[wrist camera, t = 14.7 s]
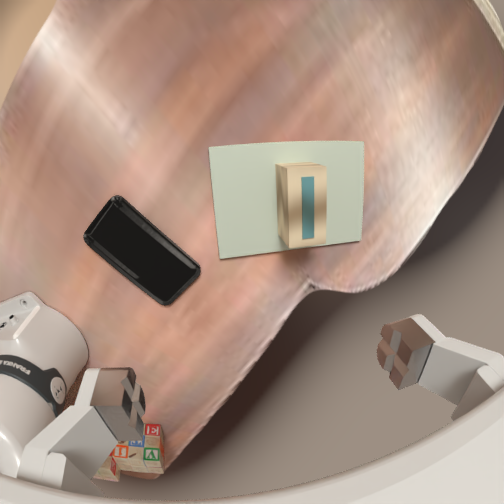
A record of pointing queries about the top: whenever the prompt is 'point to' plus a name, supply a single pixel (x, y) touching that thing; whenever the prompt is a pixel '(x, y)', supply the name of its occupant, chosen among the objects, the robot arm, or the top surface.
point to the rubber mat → (265, 197)
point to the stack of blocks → (135, 455)
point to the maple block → (301, 203)
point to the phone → (141, 251)
